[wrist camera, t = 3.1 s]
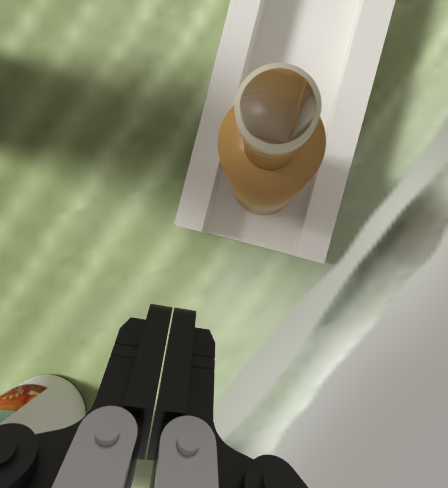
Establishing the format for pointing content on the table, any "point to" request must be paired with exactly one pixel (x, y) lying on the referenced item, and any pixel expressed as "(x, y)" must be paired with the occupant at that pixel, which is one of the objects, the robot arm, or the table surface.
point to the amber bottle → (272, 137)
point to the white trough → (332, 114)
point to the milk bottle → (42, 404)
